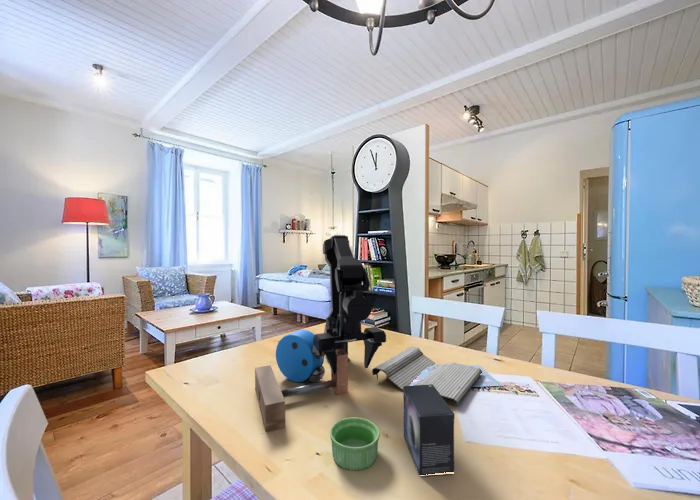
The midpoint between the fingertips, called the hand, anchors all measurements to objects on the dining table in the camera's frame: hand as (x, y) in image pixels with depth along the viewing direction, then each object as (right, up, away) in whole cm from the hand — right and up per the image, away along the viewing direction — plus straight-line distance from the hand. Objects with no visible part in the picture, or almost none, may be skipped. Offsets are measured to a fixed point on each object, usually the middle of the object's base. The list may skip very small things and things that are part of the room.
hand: (350, 370), depth 79 cm
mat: (+22, -5, +7) cm, 24 cm away
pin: (-9, -5, -3) cm, 11 cm away
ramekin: (+1, -6, -24) cm, 25 cm away
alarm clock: (-20, +3, +9) cm, 23 cm away
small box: (+14, -6, -24) cm, 29 cm away
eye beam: (-19, -5, -8) cm, 22 cm away
